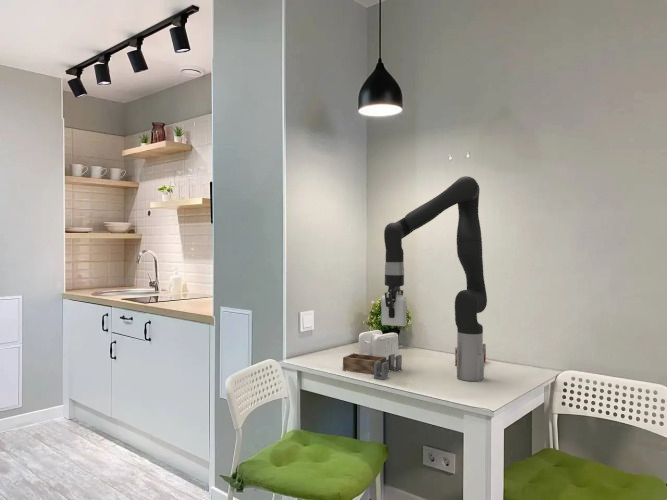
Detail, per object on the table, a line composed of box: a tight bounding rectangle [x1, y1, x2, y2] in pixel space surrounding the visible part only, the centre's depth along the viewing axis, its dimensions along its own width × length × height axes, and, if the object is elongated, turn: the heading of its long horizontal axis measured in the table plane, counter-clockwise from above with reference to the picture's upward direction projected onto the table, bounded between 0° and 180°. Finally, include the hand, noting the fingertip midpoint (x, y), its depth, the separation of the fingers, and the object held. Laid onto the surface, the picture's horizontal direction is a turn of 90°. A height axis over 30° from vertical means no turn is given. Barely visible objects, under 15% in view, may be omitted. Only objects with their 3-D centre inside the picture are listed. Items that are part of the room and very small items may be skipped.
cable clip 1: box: [373, 361, 389, 380], centre depth 198 cm, size 4×4×6 cm
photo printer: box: [380, 294, 408, 327], centre depth 209 cm, size 10×4×12 cm, turn 63°
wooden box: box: [342, 352, 387, 375], centre depth 210 cm, size 15×9×5 cm, turn 62°
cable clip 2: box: [387, 354, 403, 372], centre depth 210 cm, size 4×4×6 cm
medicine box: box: [454, 343, 487, 367], centre depth 222 cm, size 15×8×8 cm, turn 145°
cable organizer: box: [358, 329, 399, 361], centre depth 229 cm, size 15×11×12 cm
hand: (394, 316), depth 209 cm, fingers closed on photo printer, 4 cm apart
